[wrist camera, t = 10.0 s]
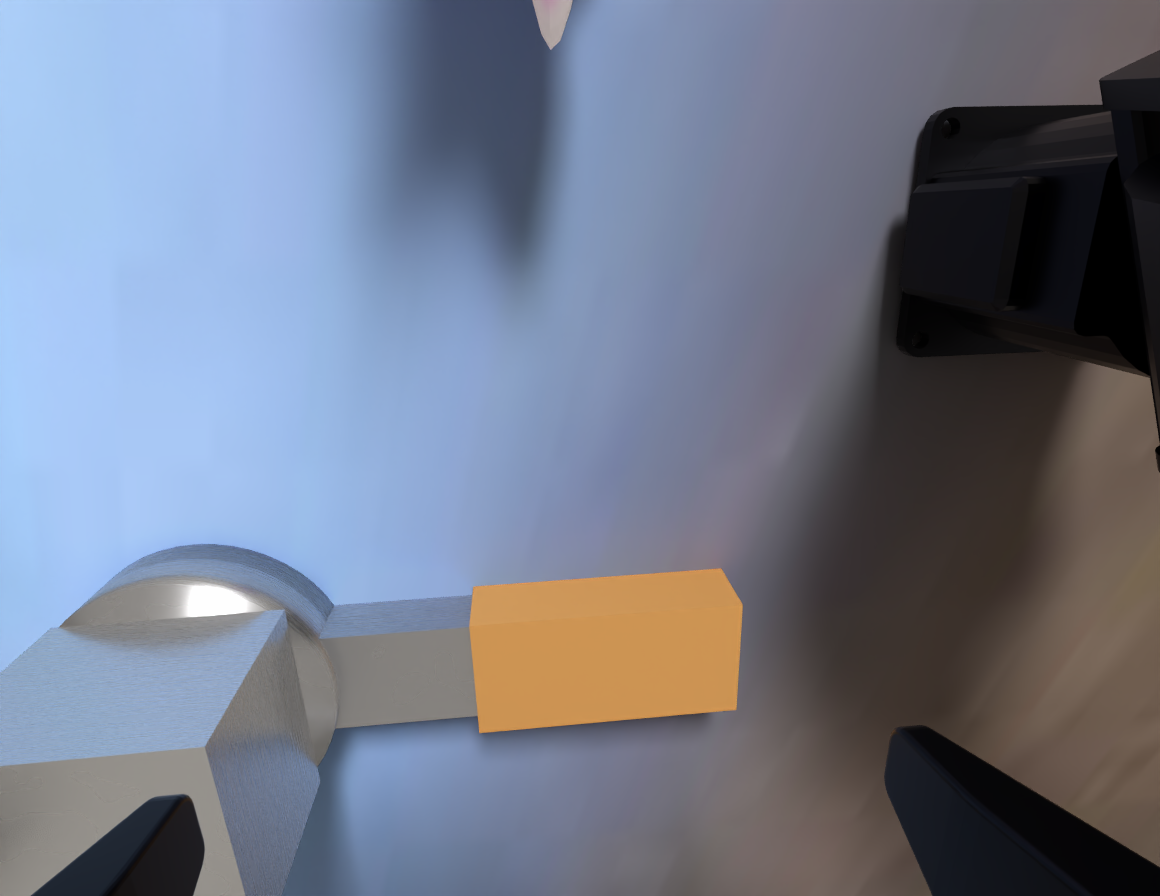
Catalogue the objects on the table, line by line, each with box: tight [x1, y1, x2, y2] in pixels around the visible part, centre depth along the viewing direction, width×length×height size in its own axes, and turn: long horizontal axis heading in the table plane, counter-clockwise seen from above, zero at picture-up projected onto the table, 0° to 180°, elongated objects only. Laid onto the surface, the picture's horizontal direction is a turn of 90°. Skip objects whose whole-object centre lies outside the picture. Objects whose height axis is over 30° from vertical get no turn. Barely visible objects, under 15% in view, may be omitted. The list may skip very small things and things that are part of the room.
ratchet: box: [60, 544, 743, 767], centre depth 19 cm, size 20×8×5 cm, turn 92°
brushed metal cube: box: [0, 609, 320, 896], centre depth 17 cm, size 6×6×5 cm
